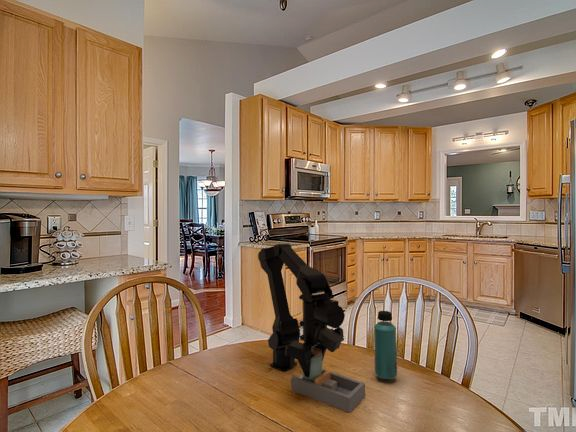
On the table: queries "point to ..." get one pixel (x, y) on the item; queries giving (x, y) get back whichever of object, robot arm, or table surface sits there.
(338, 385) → the gray rectangular tray
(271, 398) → the table surface
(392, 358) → the beverage bottle
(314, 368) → the jar
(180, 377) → the table surface
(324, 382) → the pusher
